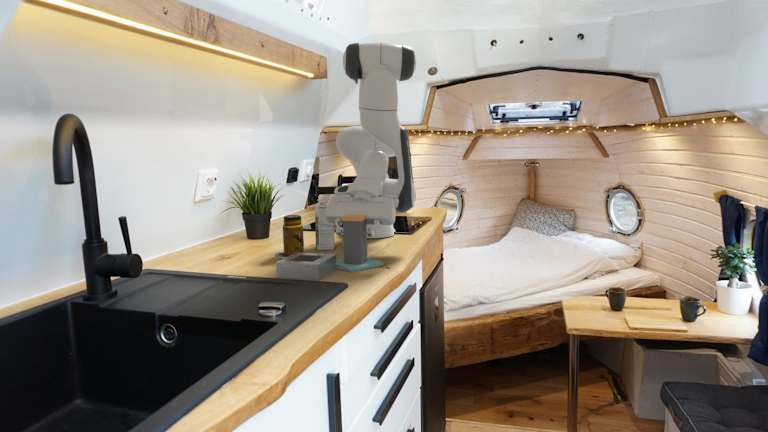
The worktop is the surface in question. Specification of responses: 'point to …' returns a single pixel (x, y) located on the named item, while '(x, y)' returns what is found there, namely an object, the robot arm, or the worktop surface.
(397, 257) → the worktop surface
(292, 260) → the collar
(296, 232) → the condiment
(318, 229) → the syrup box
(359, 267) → the mat
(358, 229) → the grey lidded canister
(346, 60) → the robot arm
